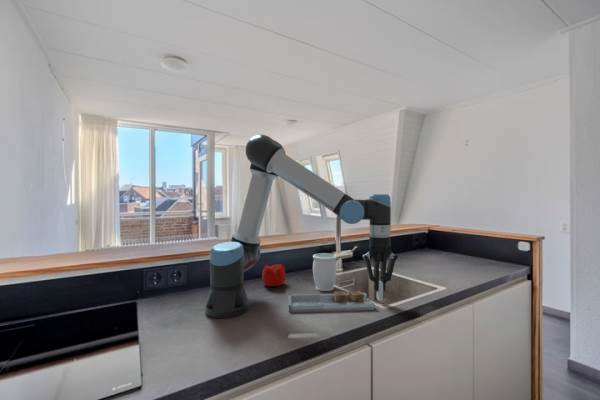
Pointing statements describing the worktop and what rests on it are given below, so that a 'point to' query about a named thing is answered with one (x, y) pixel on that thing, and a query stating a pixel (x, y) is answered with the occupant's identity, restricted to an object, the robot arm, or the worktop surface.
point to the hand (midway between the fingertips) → (379, 299)
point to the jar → (324, 271)
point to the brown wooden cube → (356, 296)
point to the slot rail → (325, 303)
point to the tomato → (274, 275)
